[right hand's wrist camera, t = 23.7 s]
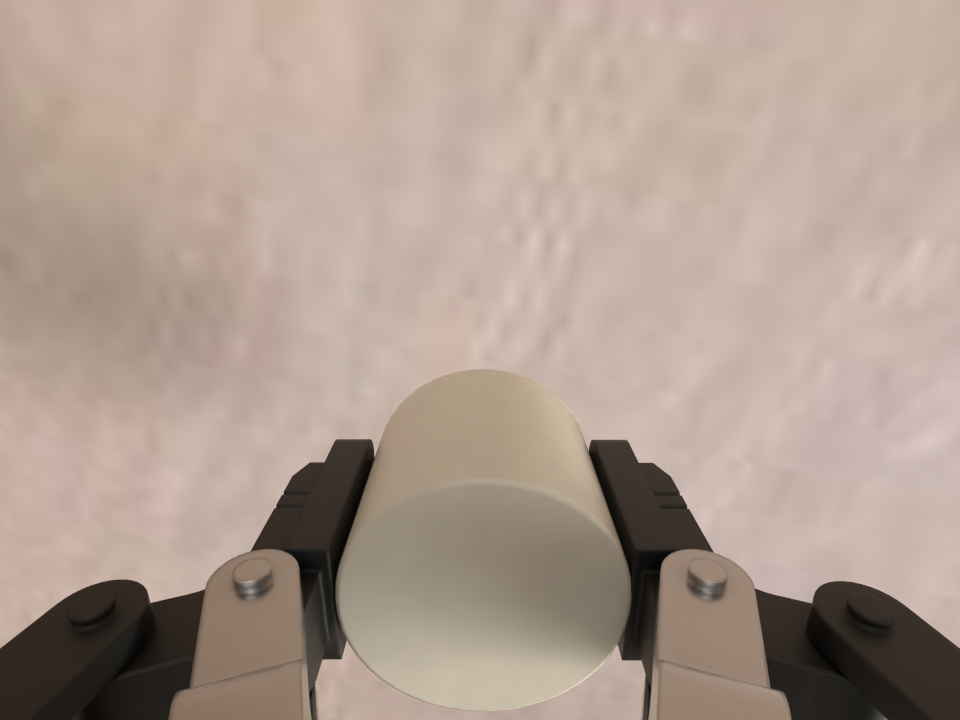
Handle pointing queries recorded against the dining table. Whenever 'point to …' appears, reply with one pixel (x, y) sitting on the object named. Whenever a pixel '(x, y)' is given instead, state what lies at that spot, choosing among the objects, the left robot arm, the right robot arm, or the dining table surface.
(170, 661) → the right robot arm
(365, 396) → the dining table surface
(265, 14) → the dining table surface
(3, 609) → the dining table surface
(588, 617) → the cream short cylinder
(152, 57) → the dining table surface
